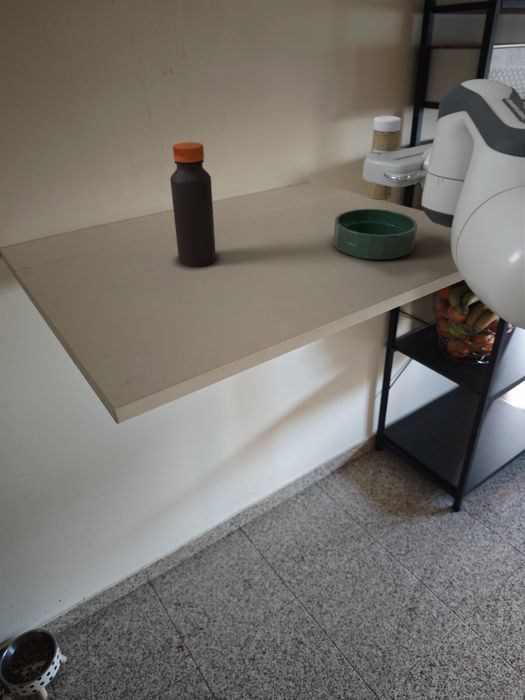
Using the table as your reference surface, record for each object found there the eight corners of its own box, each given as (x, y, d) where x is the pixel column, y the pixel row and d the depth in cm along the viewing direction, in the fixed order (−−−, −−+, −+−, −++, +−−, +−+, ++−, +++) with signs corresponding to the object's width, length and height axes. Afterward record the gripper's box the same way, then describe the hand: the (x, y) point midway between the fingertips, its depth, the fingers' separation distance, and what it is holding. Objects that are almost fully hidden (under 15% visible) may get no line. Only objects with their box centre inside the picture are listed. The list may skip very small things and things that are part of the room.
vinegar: (223, 260, 92) (217, 145, 81) (193, 271, 88) (182, 151, 77) (201, 250, 96) (192, 139, 85) (171, 259, 92) (158, 145, 81)
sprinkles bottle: (372, 192, 94) (381, 114, 87) (395, 196, 92) (406, 116, 84) (361, 198, 91) (369, 117, 84) (384, 202, 89) (394, 120, 81)
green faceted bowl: (393, 230, 104) (397, 206, 101) (426, 258, 92) (431, 232, 89) (323, 235, 102) (325, 211, 99) (347, 265, 89) (350, 238, 87)
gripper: (401, 202, 75) (336, 183, 84) (477, 179, 86) (412, 164, 95) (408, 159, 72) (339, 144, 81) (486, 140, 82) (418, 129, 91)
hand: (379, 155), depth 88 cm, fingers closed on sprinkles bottle, 4 cm apart
